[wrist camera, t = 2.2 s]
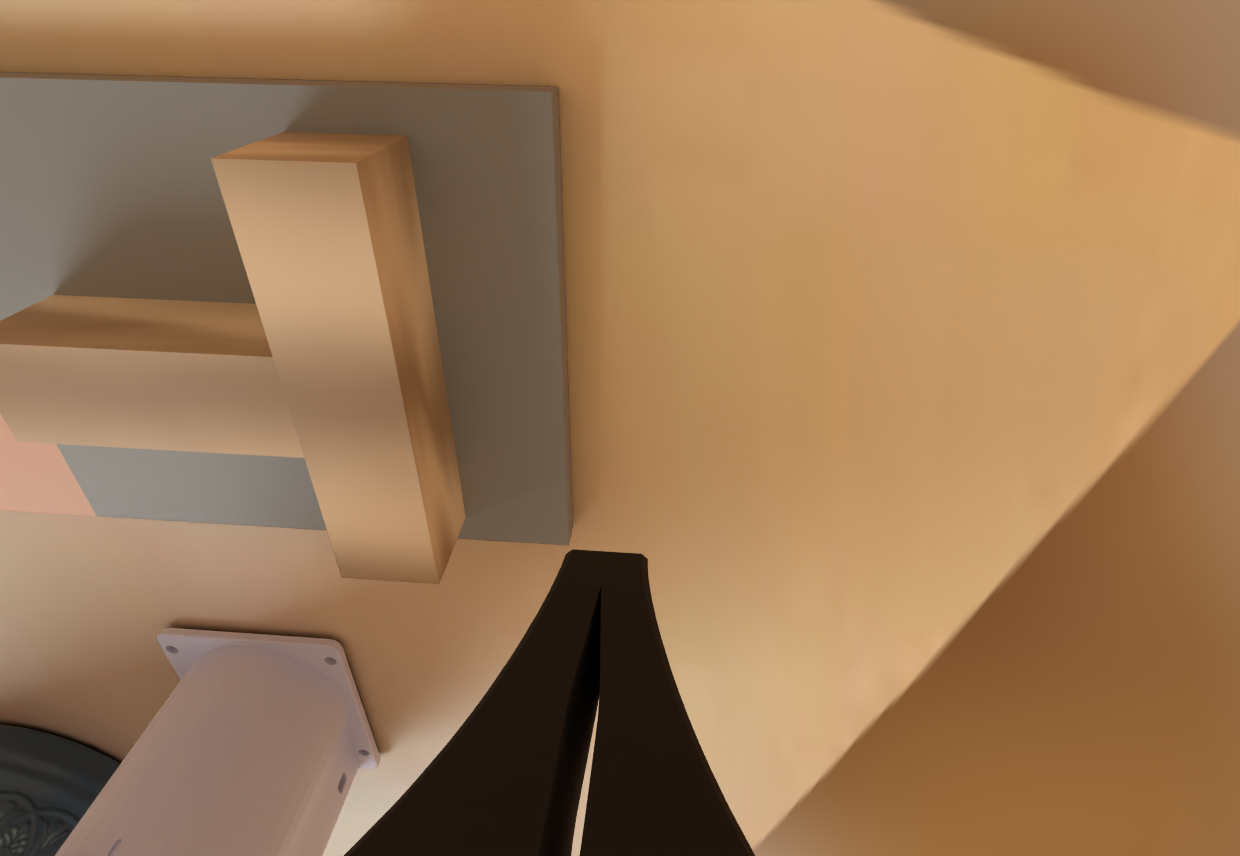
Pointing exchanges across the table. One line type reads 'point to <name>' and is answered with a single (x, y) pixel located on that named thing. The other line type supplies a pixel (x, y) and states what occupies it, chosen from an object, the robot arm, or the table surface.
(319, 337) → the t block
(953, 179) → the table surface
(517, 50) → the table surface
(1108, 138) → the table surface
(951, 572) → the table surface
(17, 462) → the slate board
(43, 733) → the canister
